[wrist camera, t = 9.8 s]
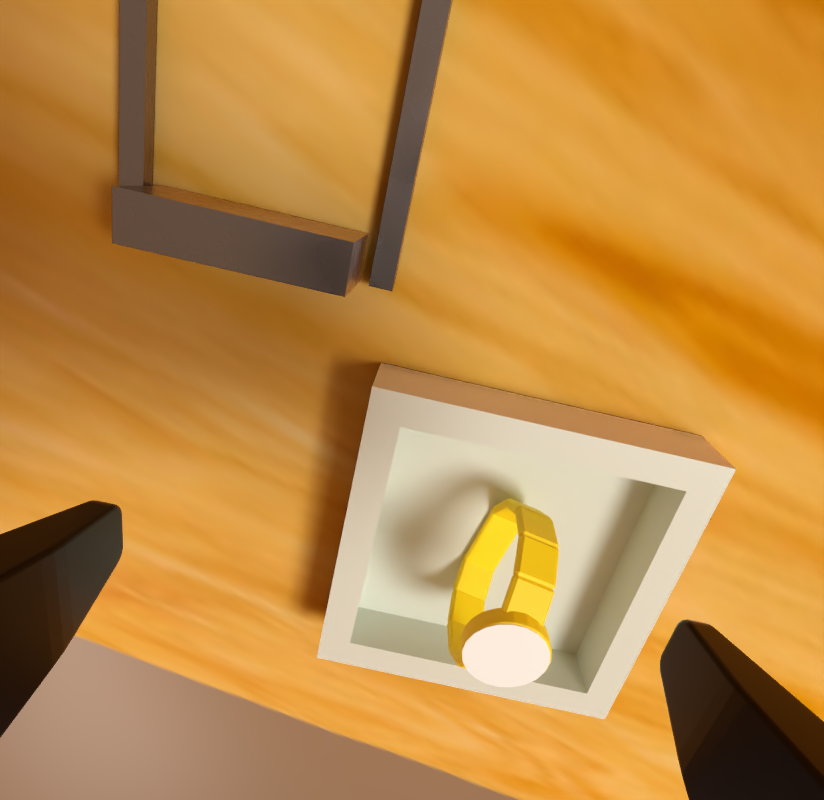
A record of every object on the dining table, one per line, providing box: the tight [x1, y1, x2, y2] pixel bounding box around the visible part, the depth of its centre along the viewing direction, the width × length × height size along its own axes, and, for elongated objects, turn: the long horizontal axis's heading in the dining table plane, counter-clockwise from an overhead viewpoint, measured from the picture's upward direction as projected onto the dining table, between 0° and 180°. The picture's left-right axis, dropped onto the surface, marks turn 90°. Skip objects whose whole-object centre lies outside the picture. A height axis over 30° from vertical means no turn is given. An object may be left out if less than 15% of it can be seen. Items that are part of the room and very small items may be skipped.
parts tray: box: [317, 363, 736, 719], centre depth 21 cm, size 12×12×2 cm
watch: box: [447, 498, 559, 687], centre depth 19 cm, size 6×3×6 cm, turn 156°
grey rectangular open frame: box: [112, 0, 453, 297], centre depth 15 cm, size 9×12×3 cm
